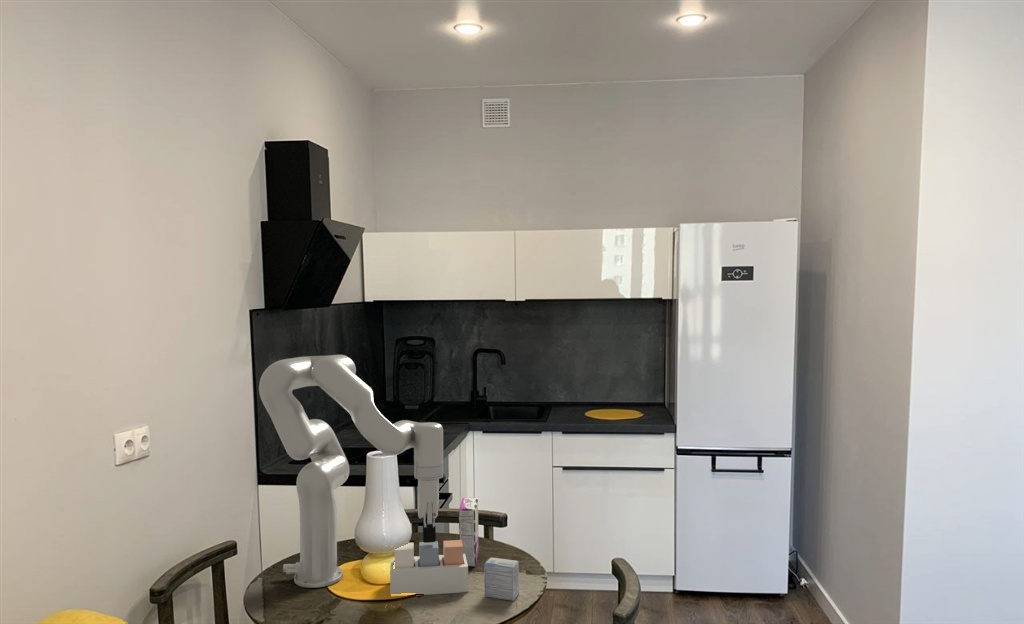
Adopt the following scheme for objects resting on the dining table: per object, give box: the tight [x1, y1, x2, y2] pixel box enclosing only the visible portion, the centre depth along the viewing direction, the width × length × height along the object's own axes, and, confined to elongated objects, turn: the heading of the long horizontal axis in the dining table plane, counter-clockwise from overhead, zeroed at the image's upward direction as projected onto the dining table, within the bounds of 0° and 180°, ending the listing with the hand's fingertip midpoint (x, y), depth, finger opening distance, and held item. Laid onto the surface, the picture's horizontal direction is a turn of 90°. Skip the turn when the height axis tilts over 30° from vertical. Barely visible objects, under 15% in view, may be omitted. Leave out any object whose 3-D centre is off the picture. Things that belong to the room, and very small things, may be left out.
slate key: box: [418, 540, 440, 567], centre depth 172 cm, size 5×5×6 cm
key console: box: [389, 554, 469, 596], centre depth 172 cm, size 20×9×6 cm, turn 99°
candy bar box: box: [458, 497, 480, 568], centre depth 191 cm, size 11×5×16 cm, turn 179°
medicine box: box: [483, 556, 520, 602], centre depth 167 cm, size 8×4×9 cm, turn 71°
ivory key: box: [394, 542, 415, 568], centre depth 171 cm, size 5×5×6 cm
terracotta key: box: [442, 539, 463, 565], centre depth 173 cm, size 5×5×6 cm
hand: (429, 541), depth 172 cm, fingers closed
